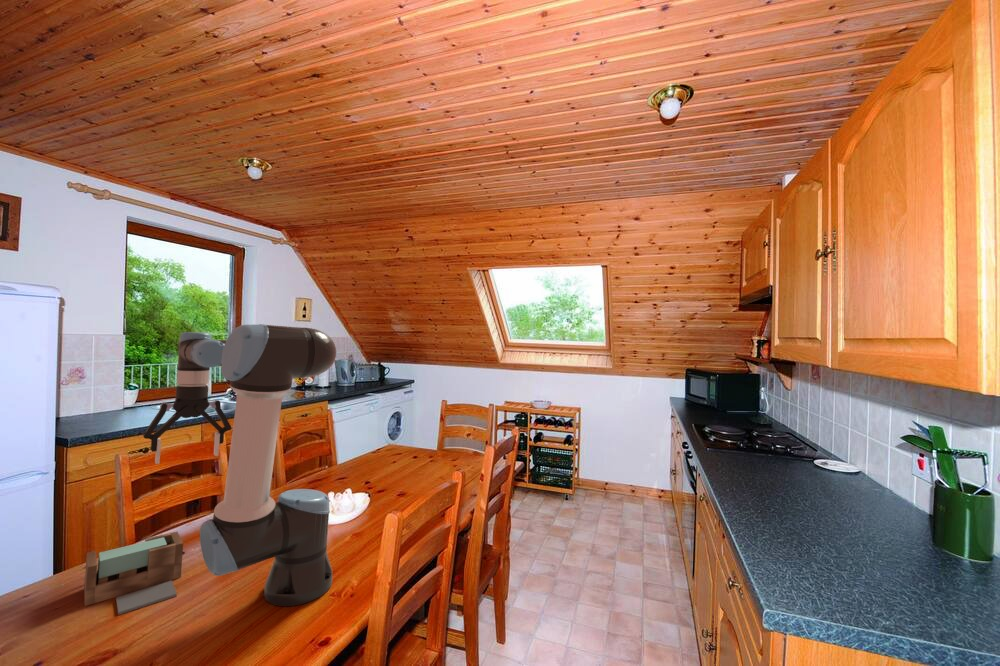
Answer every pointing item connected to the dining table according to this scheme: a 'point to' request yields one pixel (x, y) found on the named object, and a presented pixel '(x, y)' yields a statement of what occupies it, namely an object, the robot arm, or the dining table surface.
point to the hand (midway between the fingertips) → (187, 458)
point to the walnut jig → (135, 572)
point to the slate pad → (145, 597)
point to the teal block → (126, 557)
